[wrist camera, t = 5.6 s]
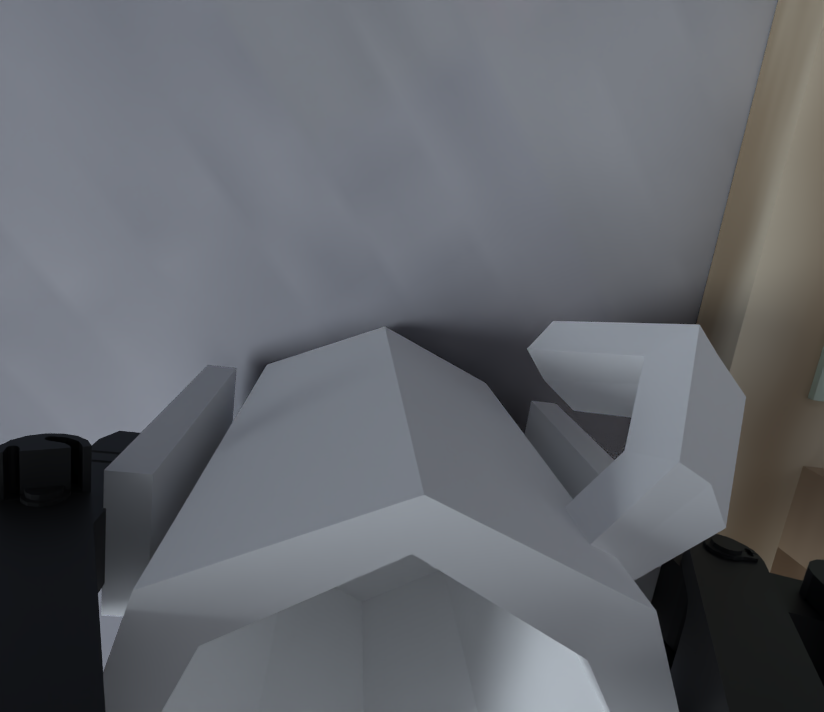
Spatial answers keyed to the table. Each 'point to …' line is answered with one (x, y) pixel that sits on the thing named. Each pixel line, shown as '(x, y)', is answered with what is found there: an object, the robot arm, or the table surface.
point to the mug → (433, 536)
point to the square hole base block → (777, 299)
